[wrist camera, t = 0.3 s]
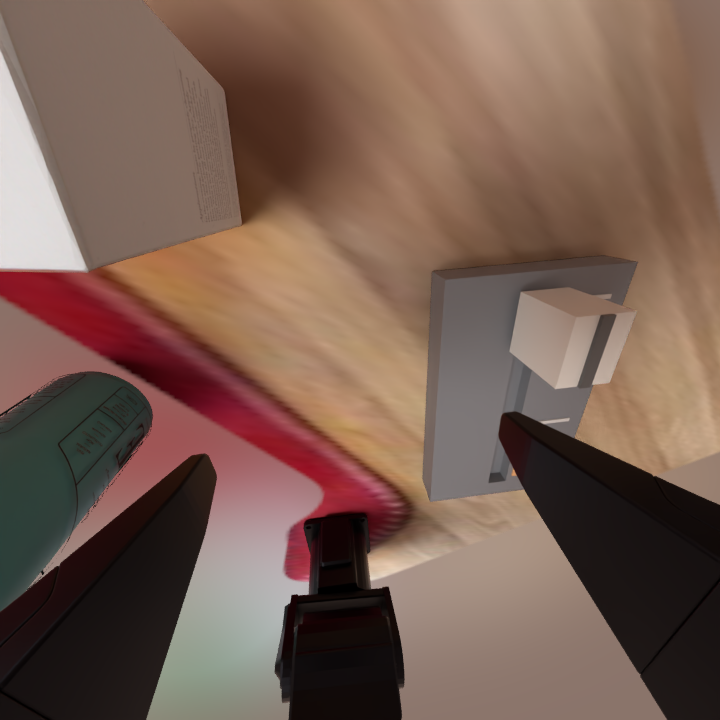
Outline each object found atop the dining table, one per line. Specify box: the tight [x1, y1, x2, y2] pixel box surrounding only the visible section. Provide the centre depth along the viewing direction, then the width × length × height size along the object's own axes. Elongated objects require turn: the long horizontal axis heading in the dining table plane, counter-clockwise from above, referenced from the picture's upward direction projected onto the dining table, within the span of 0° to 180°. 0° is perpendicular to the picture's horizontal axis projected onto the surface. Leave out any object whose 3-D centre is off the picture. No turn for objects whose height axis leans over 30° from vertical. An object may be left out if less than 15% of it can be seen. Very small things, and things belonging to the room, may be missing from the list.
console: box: [423, 256, 638, 502], centre depth 24 cm, size 20×12×3 cm, turn 4°
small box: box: [0, 0, 242, 273], centre depth 10 cm, size 8×6×13 cm
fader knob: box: [509, 287, 637, 389], centre depth 17 cm, size 4×3×6 cm
